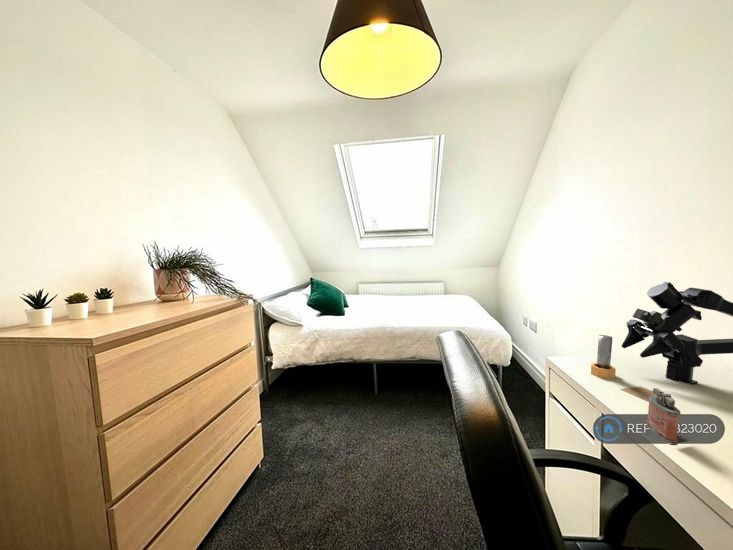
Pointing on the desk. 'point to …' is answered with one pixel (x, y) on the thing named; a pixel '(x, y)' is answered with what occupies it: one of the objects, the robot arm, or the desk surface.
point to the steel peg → (604, 351)
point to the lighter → (663, 416)
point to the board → (639, 392)
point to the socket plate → (603, 371)
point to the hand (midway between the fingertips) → (631, 351)
